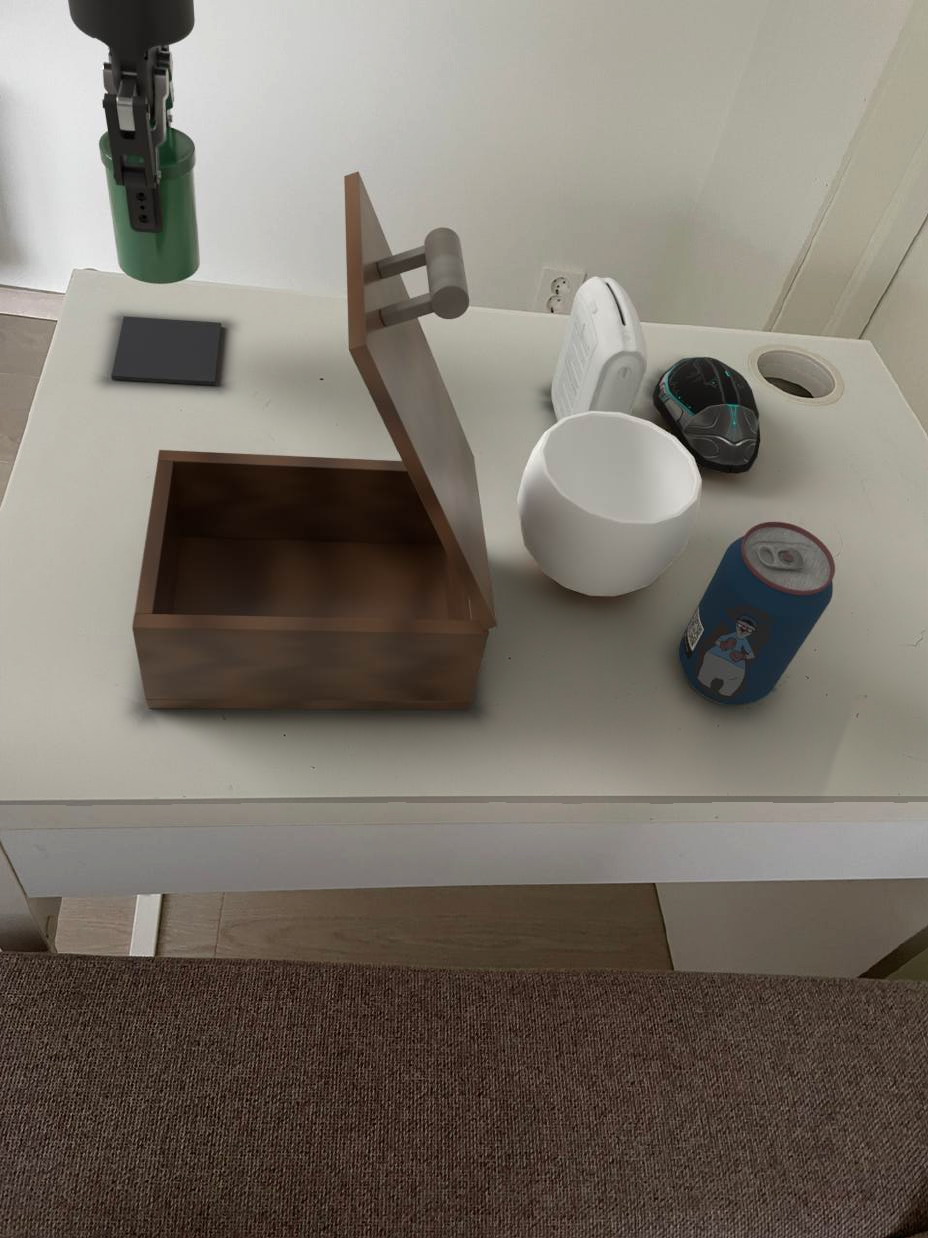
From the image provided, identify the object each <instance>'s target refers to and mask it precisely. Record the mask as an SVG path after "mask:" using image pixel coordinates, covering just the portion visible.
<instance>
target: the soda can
mask: <svg viewBox="0 0 928 1238" xmlns="http://www.w3.org/2000/svg"><path fill="white" fill-rule="evenodd" d="M835 574H836V564H835V560H834V557H833V555H832V553H831V552H830V550H829V548H828V547H827V546H826V545H825V544H824V542H823V541H821V540H820V539H819V538H818V537H817V536H816V535H814V534H813V533H811V532H810V531H808V530H806V529H804V528H802V527H800V526H798V525H797V524H792V523H789V522H783V521H767V522H765V521H764V522H761V523H758V524H756V525H753V526H752V527H751V528H750V529H748V530H747V531H746V533H745V534H744V535H742V536H740V537H739V538H737V539H735V540H733V541H732V542H731V543H730V545H728V546H727V548H726V549H725V551H724V553H723V555H722V558H721V559H720V561H719V563H718V565H717V567H716V569H715V572H713V575H712V577H711V579H710V581H709V583H708V585H707V588H706V589H705V591H704V593H703V595H702V597H701V599H700V601H699V603H698V605H697V607H696V609H695V610H694V613H693V614H692V617H691V618H690V620H689V622H688V624H687V627H686V628H685V631H684V632H683V634H682V636H681V638H680V641H679V645H678V660H679V663H680V666H681V669H682V672H683V674H684V677H685V678H686V680H687V682H688V683H689V685H690V686H691V688H692V689H693V690H694V691H695V692H697V694H699V695H700V696H702V698H705V699H706V700H709V701H711V702H713V703H715V704H719V705H723V706H741V705H747V704H751V703H754V702H757V701H760V700H762V699H764V698H766V697H767V696H768V695H769V694H771V692H772V691H773V690H774V689H775V687H776V686H777V684H778V682H779V681H780V680H781V678H782V676H783V674H784V673H785V672H786V670H787V669H788V667H789V665H790V664H791V663H792V661H793V659H794V658H795V656H796V655H797V653H798V652H799V650H800V649H801V647H802V646H803V644H804V643H805V642H806V639H807V638H808V636H809V635H810V634H811V632H812V631H813V629H814V627H815V626H816V625H817V623H818V622H819V620H820V619H821V617H822V615H823V614H824V612H825V610H826V609H827V608H828V607H829V604H830V603H831V600H832V599H833V594H834V592H833V591H834V583H833V580H834V577H835Z"/></svg>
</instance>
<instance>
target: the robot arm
mask: <svg viewBox="0 0 928 1238" xmlns="http://www.w3.org/2000/svg"><path fill="white" fill-rule="evenodd" d="M67 3H68V9H69V16H70V18H71V20H72V22H73V24H74V25H75V26H76V28H77V29H78V30H80V31H81V32H82V33H83V34H84V35H86V36H88V37H89V38H91V39H96V40H98V41H100V42H102V43H103V44H104V45H106V46H107V47H108V48H107V53H108V54H107V56H108V62H107V61H103V63H102V80H103V88H104V90H105V91H106V92H104V93H103V99H101V100H102V101H101V103H102V109H103V110H104V116H105V121H106V128H107V131H108V135H109V142H110V148H111V155H112V161H113V168H114V172H113V176H114V179H115V181H116V185H119V186H125V189H126V197H127V205H128V213H129V221H130V227H131V228H132V229H133V230H134V231H136V232H146V233H160V232H161V231H162V229H163V224H164V221H163V211H162V200H161V190H160V178H161V170H160V165H159V148H160V147H161V146H162V145H164V144H165V143H166V126H169V127H172V123H173V121H174V118H173V117H174V116H173V114H171V110H172V109H173V108H174V103H175V89H174V88H175V87H174V83H173V69H174V60H173V54H172V51H170V46H171V45H174V44H177V43H179V42H181V41H183V40H184V39H186V38H187V37H189V35H190V34H191V33H192V31H193V29H194V27H195V22H196V20H195V19H196V17H195V3H194V0H67ZM150 124H156V126H155V128H154V129H153V130H152V131H151V128H150ZM129 155H134V156H140V157H142V158H143V160H144V163H138V162H129Z"/></svg>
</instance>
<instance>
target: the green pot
mask: <svg viewBox="0 0 928 1238" xmlns="http://www.w3.org/2000/svg"><path fill="white" fill-rule="evenodd" d="M155 126H156V124H150V128H151V131H152V130H153V129H154V128H155ZM98 148H99V155H100V156H99V157H100V160H101V163H102V164H103V166H104V170H105V177H106V184H107V185H106V186H107V191H108V199H109V206H110V214H111V220H112V229H113V235H114V242H115V243H114V244H115V250H116V257H117V258H116V259H117V264H118V266H119V268H120V269H121V271H122V272H123V273H124V274H126V275H127V276H128V277H130V278H132V279H134V280H137V281H139V282H143V283H147V284H154V285H155V284H156V285H157V284H158V285H166V284H168V285H169V284H175V283H178V282H182V281H184V280H187V279H189V278H191V277H192V276H193V275H195V274H196V273H197V272H198V270H199V268H200V265H201V256H200V243H199V242H200V241H199V228H198V225H199V224H198V213H197V197H196V183H195V182H196V181H195V166H196V163H197V156H196V155H197V154H196V153H197V152H196V144H195V142H194V141H193V139H192V138H191V137H190V136H189V135H188V134H186V133H185V132H183V131H182V130H180V129H178V128H174V127H172V126H171V127H169V126H166V143H165V144H164V145H162V146H161V147H160V148H159V165H160V170H161V178H160V190H161V200H162V211H163V221H164V224H163V229H162V231H161V232H160V233H146V232H136V231H134V230H133V229H132V228H131V227H130V221H129V213H128V205H127V197H126V189H125V186H119V185H116V181H115V179H114V176H113V172H114V168H113V161H112V155H111V148H110V142H109V135H108V130H107V131H105V132H104V133H103V134H102V135H101V136H100V138H99V140H98ZM129 162H138V163H144V160H143V158H142V157H140V156H134V155H129Z"/></svg>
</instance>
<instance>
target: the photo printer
mask: <svg viewBox="0 0 928 1238" xmlns="http://www.w3.org/2000/svg"><path fill="white" fill-rule="evenodd" d="M565 329H566V330H565V333H564V337H563V341H562V345H561V348H560V352H559V356H558V359H557V363H556V367H555V371H554V374H553V378H552V383H551V391H550V394H551V395H550V396H551V402H552V406H553V410H554V414H555V419H556V421H557V422H559V421H560V420H561V419H563V418H564V417H568V416H572V415H576V414H580V413H584V412H588V411H603V412H621V413H624V414H627V415H631V416H632V413H633V409H634V406H635V404H636V401H637V398H638V395H639V393H640V389H641V387H642V383H643V381H644V377H645V375H646V373H647V367H648V351H647V344H646V338H645V334H644V331H643V327H642V325H641V321H640V318H639V315H638V312H637V310H636V308H635V305H634V304H633V301H632V299H631V297H630V296H629V294H628V293H627V292H626V290H625V289H624V288H623V287H622V286H621V284H619V283H618V282H617V281H616V280H614V279H613V278H611V277H610V276H608V277H599V276H595V275H594V276H592V277H591V278H589V279H587V280H585V282H583V283H582V284H581V285H580V287H579V288H578V290H577V291H576V293H575V296H574V299H573V303H572V306H571V310H570V314H569V318H568V322H567V326H566V328H565ZM557 422H556V423H557Z"/></svg>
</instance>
